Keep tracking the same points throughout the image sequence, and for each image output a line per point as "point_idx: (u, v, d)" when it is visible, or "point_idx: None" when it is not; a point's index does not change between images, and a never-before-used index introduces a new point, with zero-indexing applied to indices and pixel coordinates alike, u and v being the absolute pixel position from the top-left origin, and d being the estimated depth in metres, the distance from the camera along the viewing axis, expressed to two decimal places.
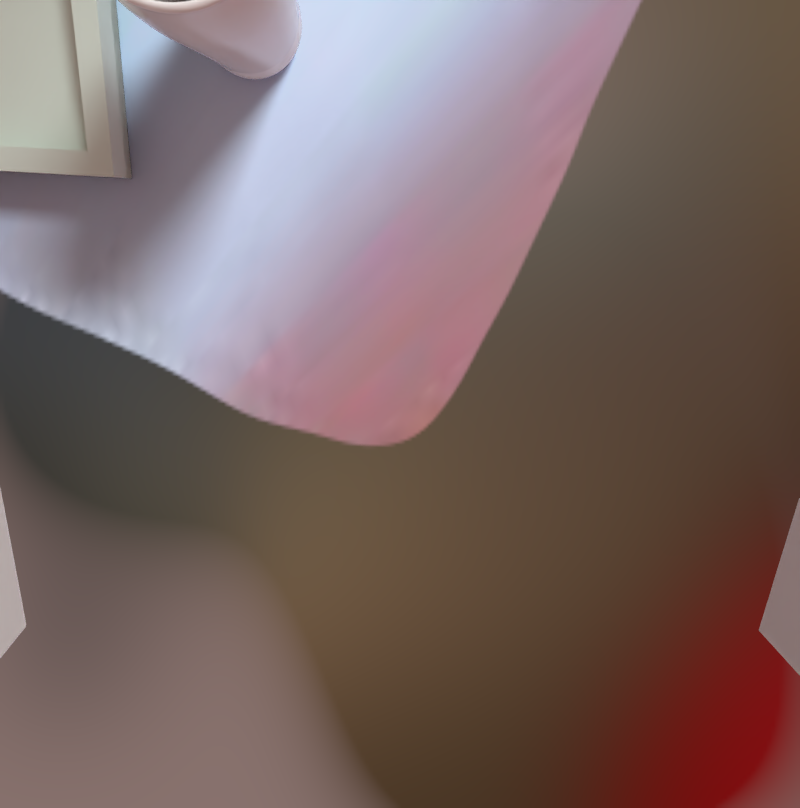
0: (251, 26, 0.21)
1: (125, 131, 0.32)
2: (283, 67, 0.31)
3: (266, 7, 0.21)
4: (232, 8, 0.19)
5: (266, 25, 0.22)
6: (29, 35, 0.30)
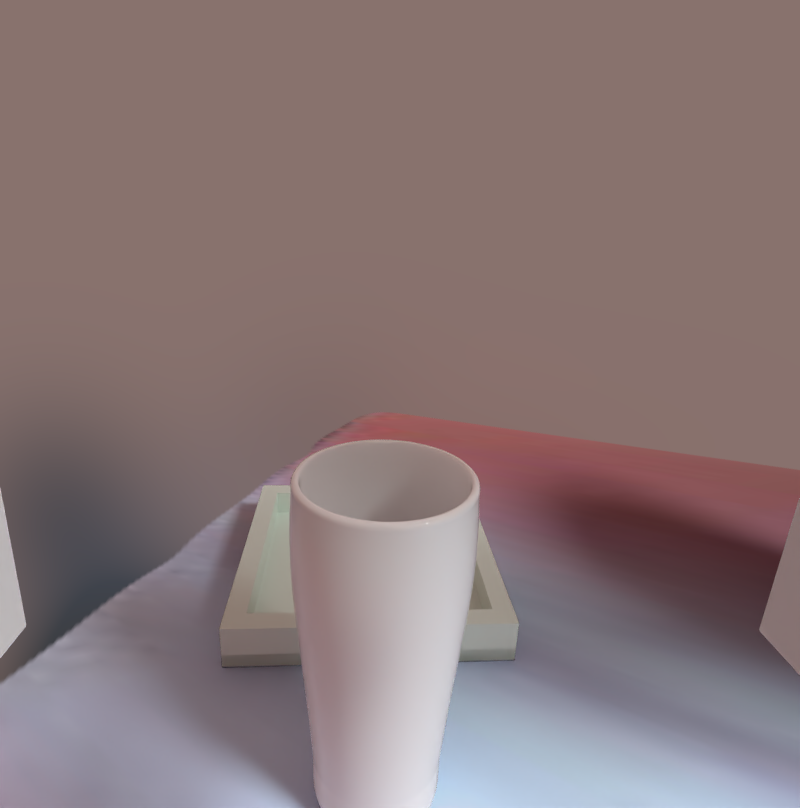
0: (304, 594, 0.20)
1: (267, 661, 0.32)
2: None
3: (319, 598, 0.19)
4: (301, 530, 0.19)
5: (314, 631, 0.20)
6: None
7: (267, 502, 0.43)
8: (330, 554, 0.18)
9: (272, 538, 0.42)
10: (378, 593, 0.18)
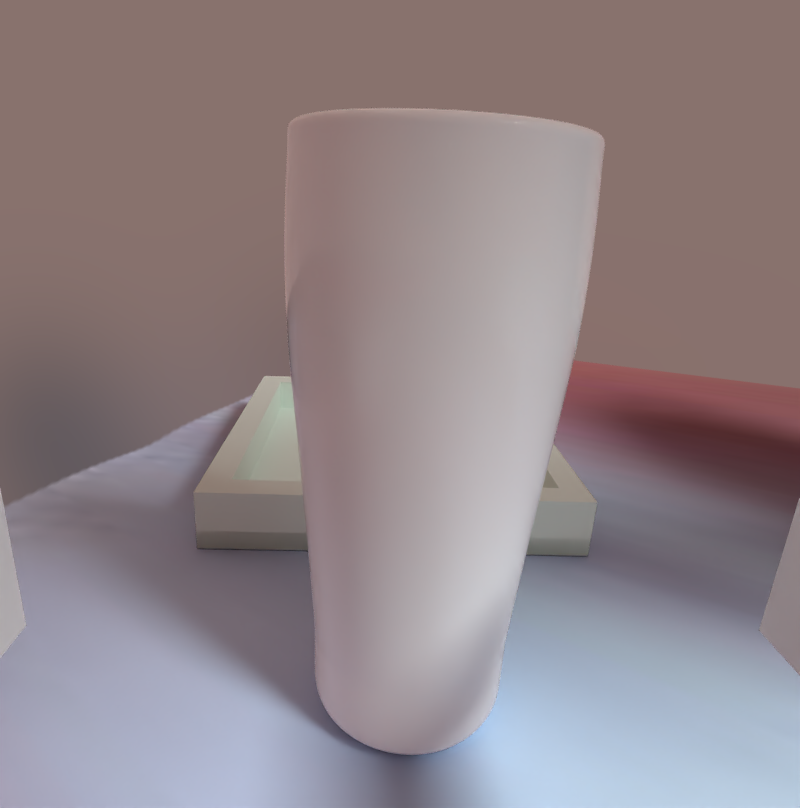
0: (306, 303, 0.12)
1: (258, 542, 0.24)
2: (333, 708, 0.15)
3: (332, 292, 0.11)
4: (302, 175, 0.11)
5: (322, 369, 0.12)
6: None
7: (267, 388, 0.35)
8: (352, 190, 0.10)
9: (272, 428, 0.34)
10: (438, 259, 0.10)
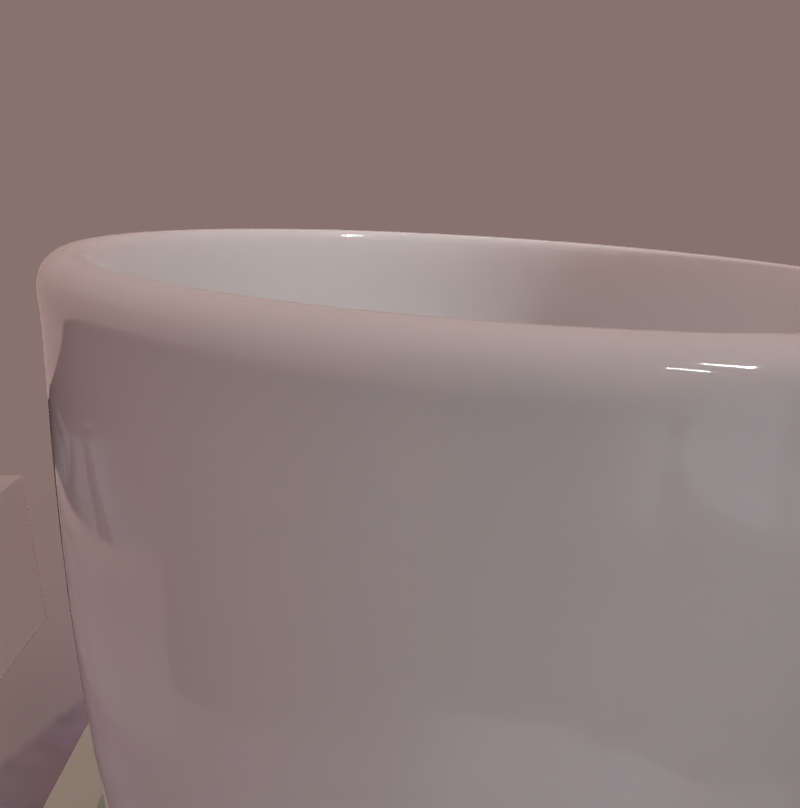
0: (101, 769, 0.04)
1: None
2: None
3: None
4: (53, 446, 0.03)
5: None
6: None
7: (76, 795, 0.14)
8: (170, 583, 0.03)
9: None
10: None
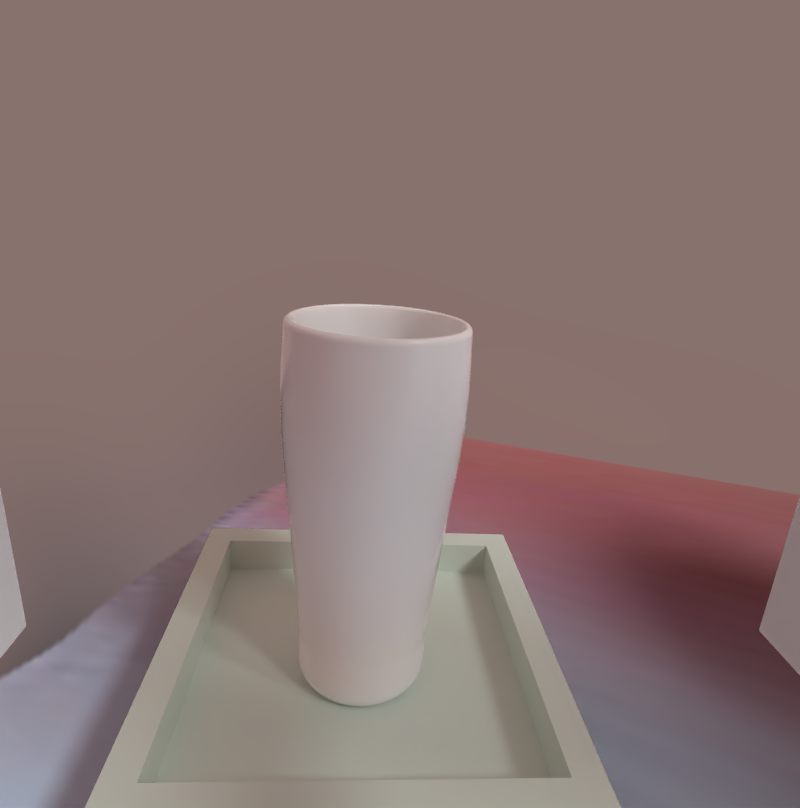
0: (293, 428, 0.20)
1: None
2: (309, 677, 0.23)
3: (308, 426, 0.19)
4: (291, 358, 0.19)
5: (302, 467, 0.20)
6: (321, 739, 0.22)
7: (212, 556, 0.29)
8: (319, 374, 0.18)
9: (216, 613, 0.28)
10: (367, 414, 0.18)
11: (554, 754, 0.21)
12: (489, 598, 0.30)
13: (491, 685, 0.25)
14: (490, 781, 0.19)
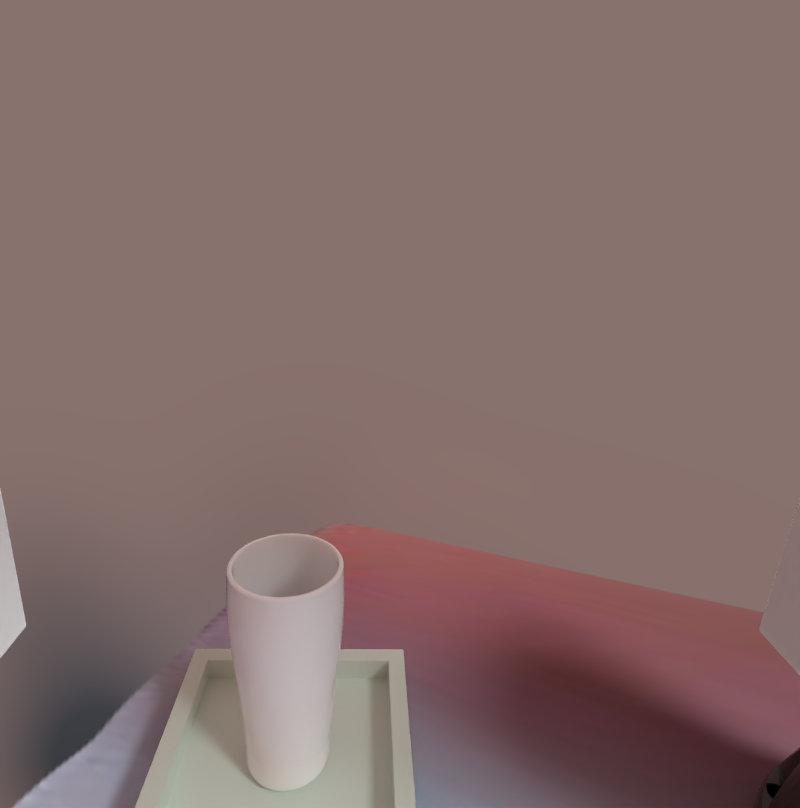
0: (232, 635, 0.33)
1: None
2: (251, 772, 0.36)
3: (240, 638, 0.32)
4: (230, 598, 0.32)
5: (238, 658, 0.33)
6: None
7: (194, 675, 0.43)
8: (244, 613, 0.31)
9: (196, 717, 0.41)
10: (271, 637, 0.31)
11: None
12: (387, 701, 0.43)
13: (372, 774, 0.38)
14: None
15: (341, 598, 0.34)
